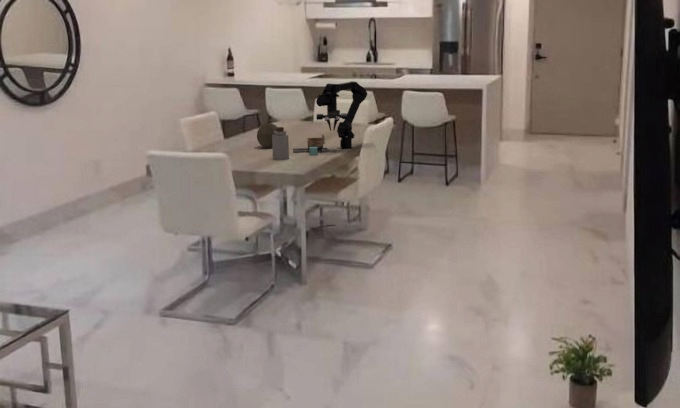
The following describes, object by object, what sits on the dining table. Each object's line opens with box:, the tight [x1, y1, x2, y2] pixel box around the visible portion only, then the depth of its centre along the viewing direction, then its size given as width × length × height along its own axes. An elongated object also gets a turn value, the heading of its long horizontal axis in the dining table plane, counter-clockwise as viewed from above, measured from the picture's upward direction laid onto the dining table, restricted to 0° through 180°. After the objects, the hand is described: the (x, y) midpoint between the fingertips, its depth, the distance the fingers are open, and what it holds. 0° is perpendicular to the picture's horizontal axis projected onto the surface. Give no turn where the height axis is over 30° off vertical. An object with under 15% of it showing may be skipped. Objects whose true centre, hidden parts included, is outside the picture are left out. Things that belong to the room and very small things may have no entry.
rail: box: [292, 147, 329, 154], centre depth 454 cm, size 21×11×1 cm, turn 94°
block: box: [308, 147, 318, 157], centre depth 442 cm, size 4×4×4 cm
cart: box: [306, 134, 326, 150], centre depth 454 cm, size 10×12×8 cm
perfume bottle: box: [271, 126, 290, 161], centre depth 430 cm, size 7×7×18 cm
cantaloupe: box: [256, 123, 278, 149], centre depth 467 cm, size 14×14×15 cm
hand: (332, 130), depth 452 cm, fingers closed
